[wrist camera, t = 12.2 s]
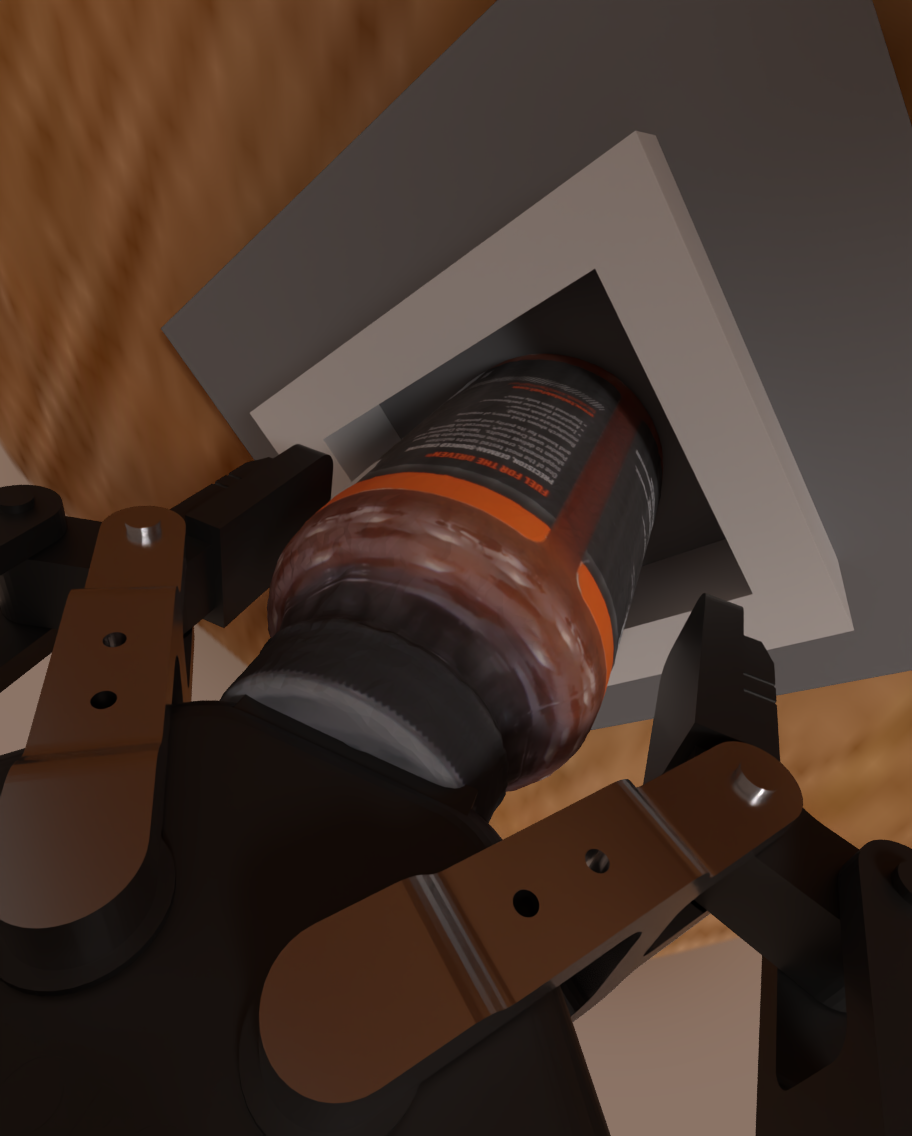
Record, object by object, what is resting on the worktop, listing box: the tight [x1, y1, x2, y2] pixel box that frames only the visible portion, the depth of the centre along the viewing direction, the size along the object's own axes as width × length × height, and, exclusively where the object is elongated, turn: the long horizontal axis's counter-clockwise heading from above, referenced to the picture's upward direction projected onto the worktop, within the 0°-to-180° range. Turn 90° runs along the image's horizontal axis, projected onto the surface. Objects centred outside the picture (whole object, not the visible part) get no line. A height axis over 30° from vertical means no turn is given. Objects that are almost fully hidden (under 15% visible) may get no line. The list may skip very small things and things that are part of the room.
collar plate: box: [161, 0, 912, 730], centre depth 16 cm, size 18×18×4 cm
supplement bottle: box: [220, 354, 664, 823], centre depth 13 cm, size 6×6×11 cm
